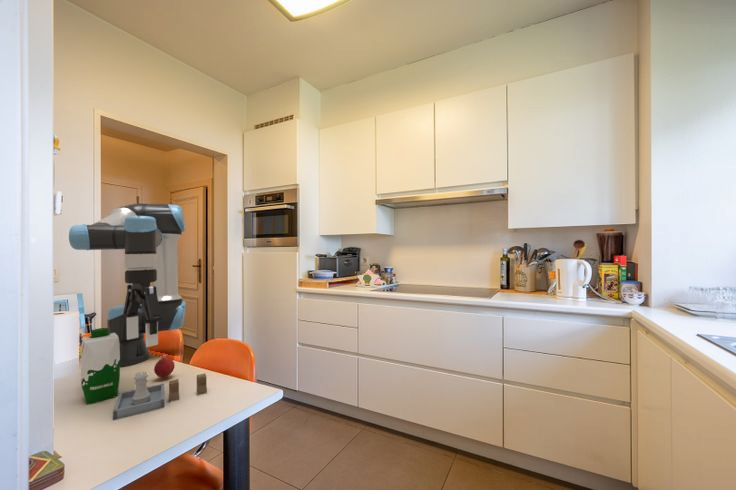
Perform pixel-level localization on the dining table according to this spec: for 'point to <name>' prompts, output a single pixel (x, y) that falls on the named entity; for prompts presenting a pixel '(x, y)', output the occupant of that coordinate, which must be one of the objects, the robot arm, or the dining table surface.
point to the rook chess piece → (141, 389)
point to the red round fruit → (164, 367)
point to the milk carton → (100, 365)
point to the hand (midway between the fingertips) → (141, 342)
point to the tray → (128, 409)
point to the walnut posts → (175, 387)
